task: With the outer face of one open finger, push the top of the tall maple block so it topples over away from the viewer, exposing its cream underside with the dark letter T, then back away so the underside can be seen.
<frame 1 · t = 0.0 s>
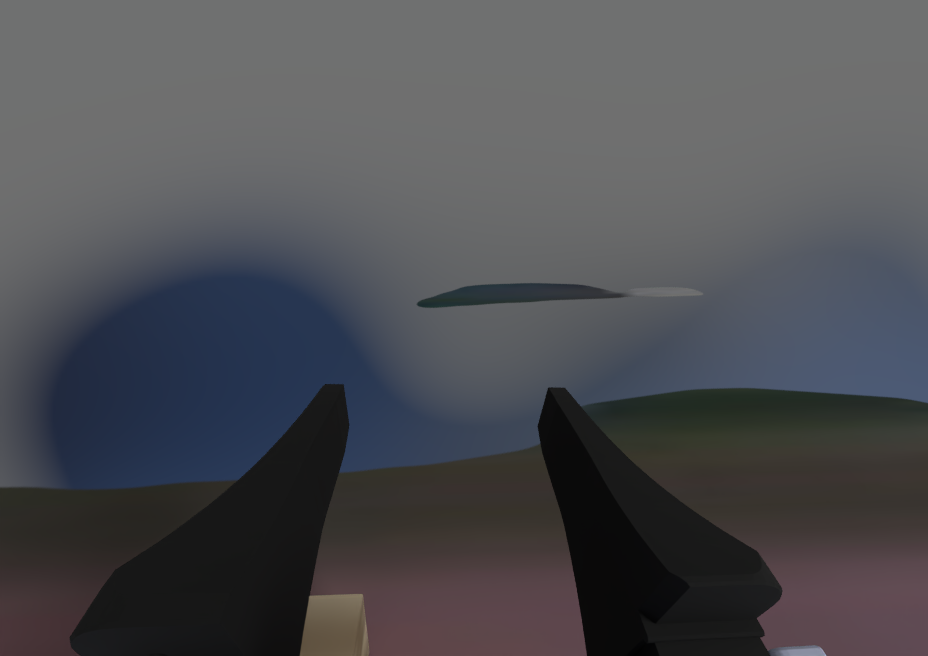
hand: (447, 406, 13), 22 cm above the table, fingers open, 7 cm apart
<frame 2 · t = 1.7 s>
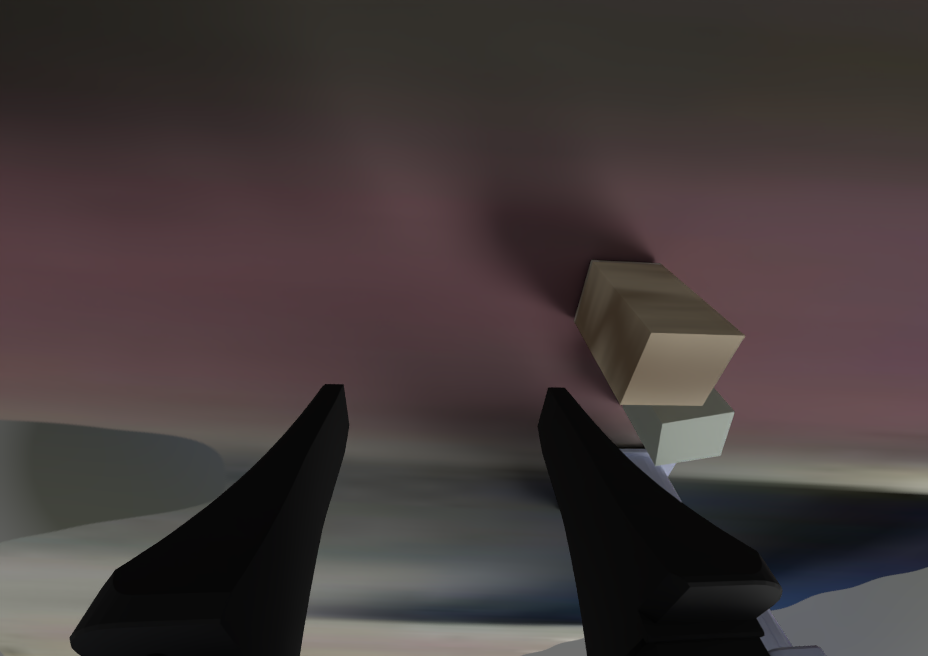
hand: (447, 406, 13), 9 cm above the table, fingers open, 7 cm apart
sage block: (652, 382, 26), on the table
maple block: (615, 293, 22), on the table
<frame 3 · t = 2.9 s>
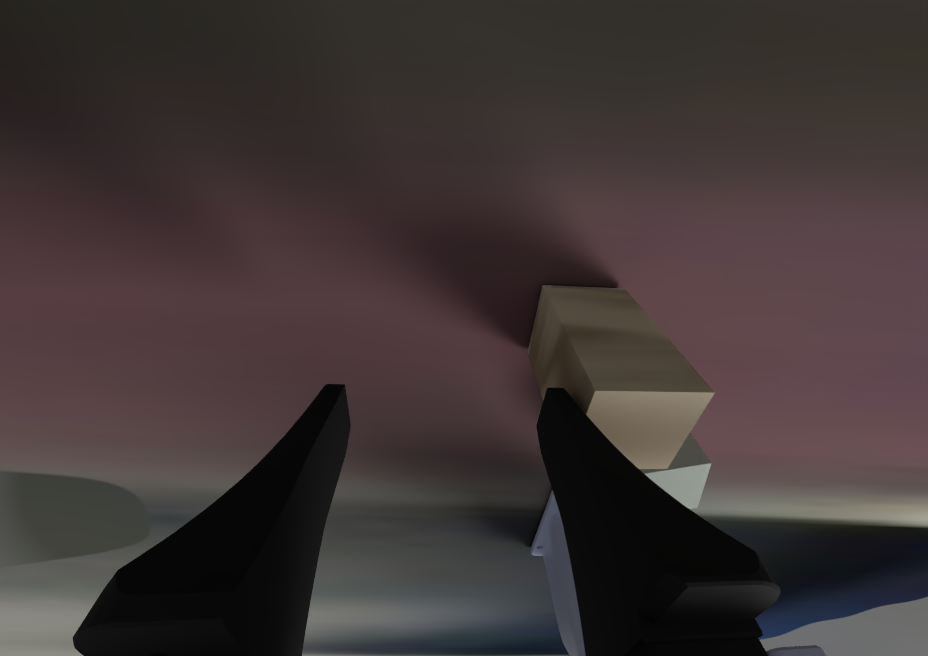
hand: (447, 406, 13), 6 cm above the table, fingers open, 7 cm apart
sage block: (623, 418, 23), on the table
maple block: (573, 322, 19), on the table, touching gripper
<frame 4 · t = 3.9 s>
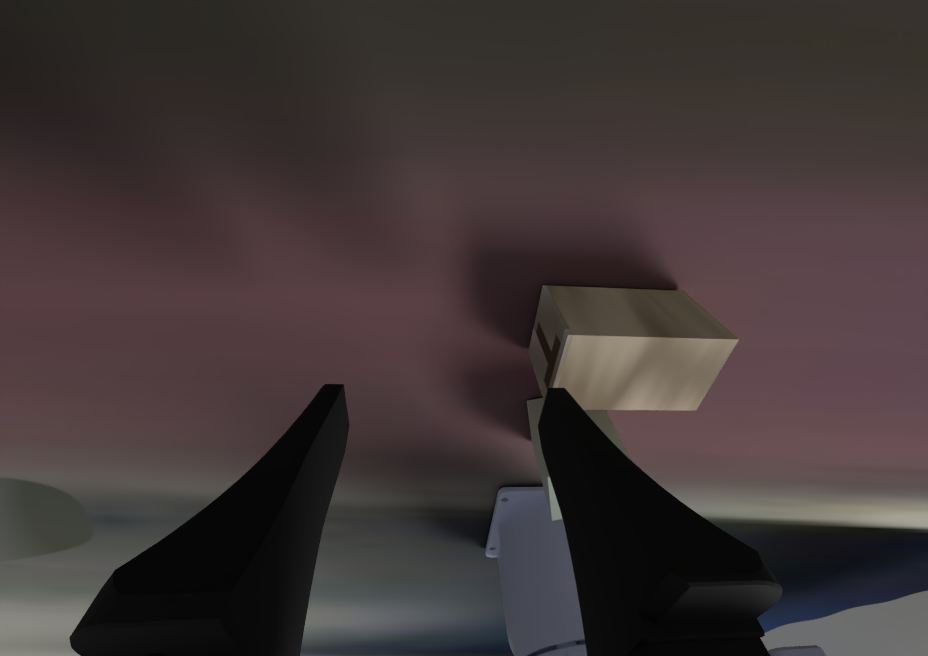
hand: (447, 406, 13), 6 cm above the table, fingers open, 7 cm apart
sage block: (561, 417, 23), on the table
maple block: (544, 345, 17), point 2 cm above the table, tilted 90°
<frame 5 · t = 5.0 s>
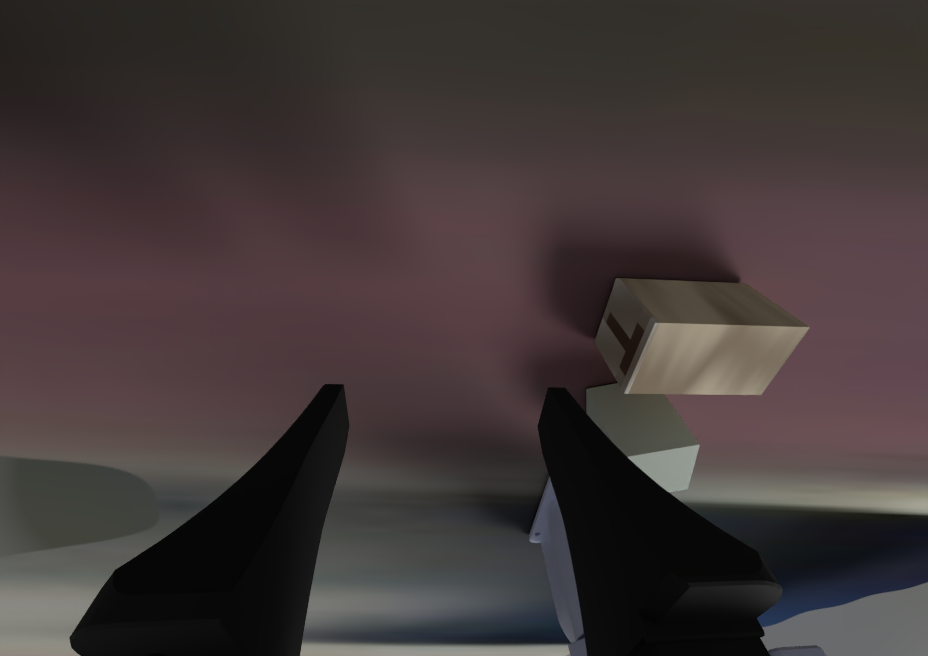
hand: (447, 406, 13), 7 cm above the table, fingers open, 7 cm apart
sage block: (617, 405, 24), on the table
maple block: (619, 334, 18), point 2 cm above the table, tilted 90°
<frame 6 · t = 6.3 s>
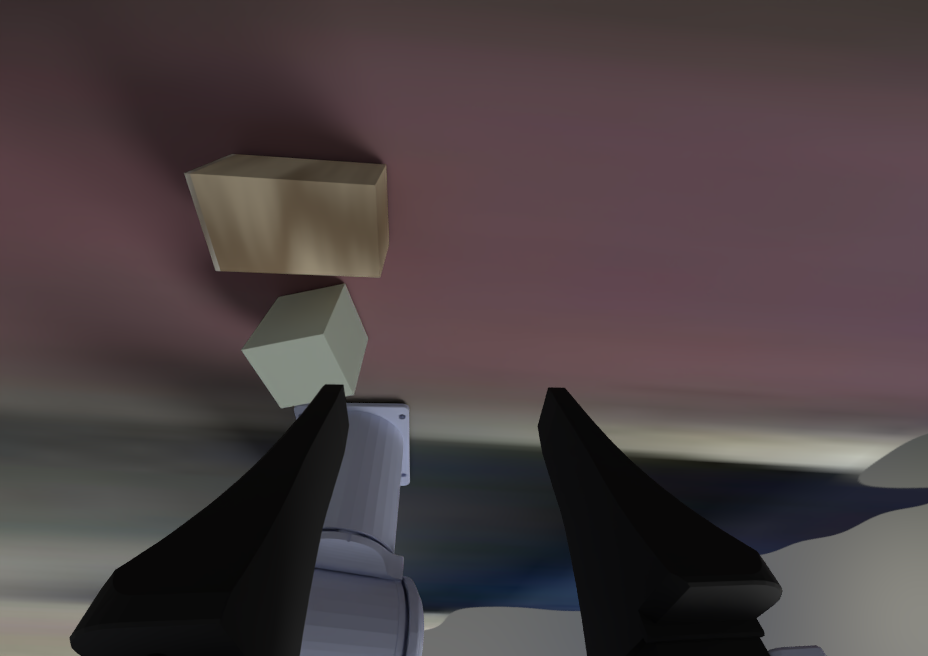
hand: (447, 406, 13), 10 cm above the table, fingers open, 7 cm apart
sage block: (325, 318, 23), on the table
maple block: (224, 210, 17), point 2 cm above the table, tilted 90°
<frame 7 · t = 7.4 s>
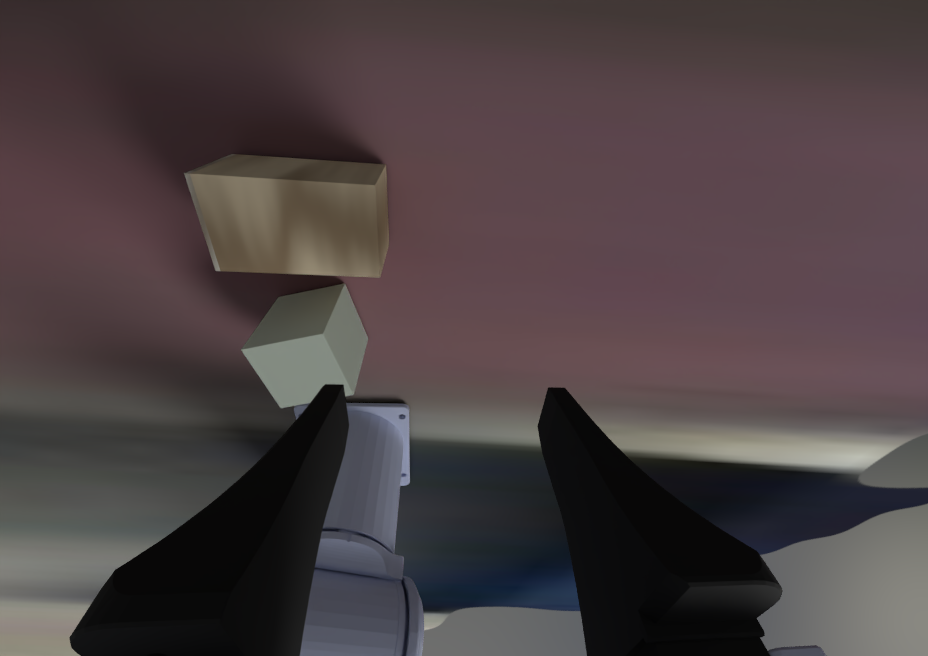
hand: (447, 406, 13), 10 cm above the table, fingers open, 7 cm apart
sage block: (325, 318, 23), on the table
maple block: (224, 210, 17), point 2 cm above the table, tilted 90°
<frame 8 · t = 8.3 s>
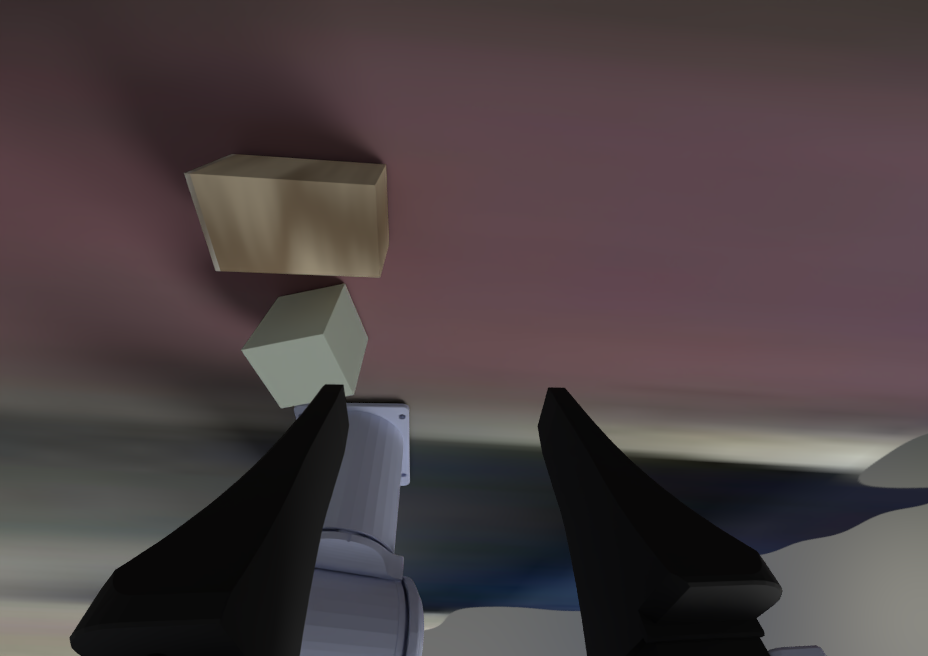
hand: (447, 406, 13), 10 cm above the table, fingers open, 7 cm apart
sage block: (325, 318, 23), on the table
maple block: (224, 210, 17), point 2 cm above the table, tilted 90°
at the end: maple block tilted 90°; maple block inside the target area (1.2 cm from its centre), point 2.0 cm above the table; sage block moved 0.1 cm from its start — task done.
